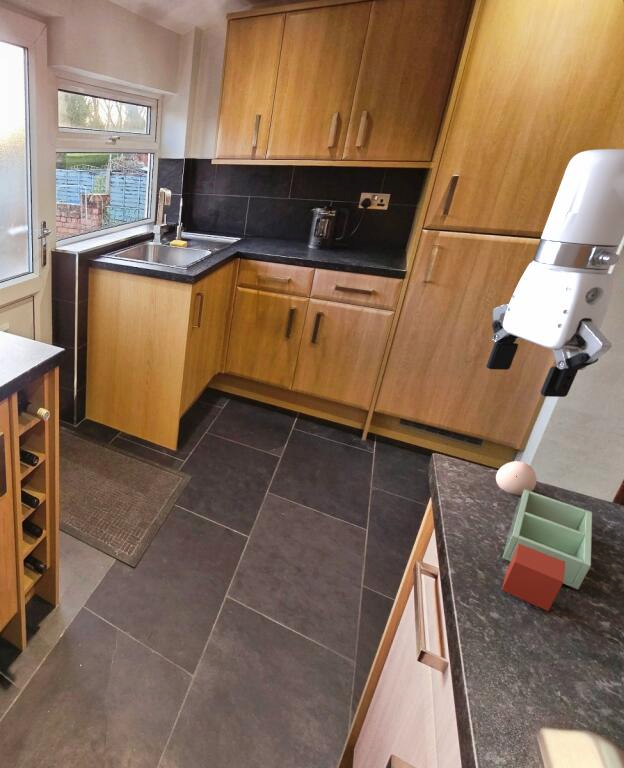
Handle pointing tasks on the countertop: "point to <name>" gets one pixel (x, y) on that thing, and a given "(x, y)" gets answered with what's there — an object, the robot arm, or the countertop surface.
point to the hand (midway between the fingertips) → (523, 381)
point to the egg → (516, 484)
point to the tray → (553, 533)
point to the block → (534, 577)
